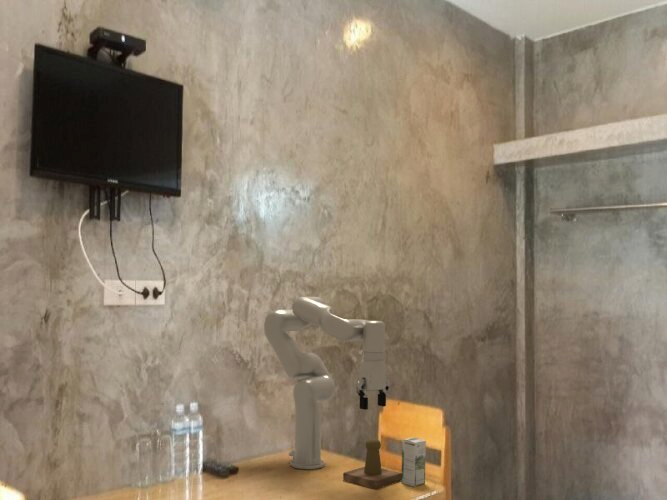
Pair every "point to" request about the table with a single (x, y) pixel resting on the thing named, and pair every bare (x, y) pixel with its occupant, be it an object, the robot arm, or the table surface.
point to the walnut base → (372, 478)
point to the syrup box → (413, 461)
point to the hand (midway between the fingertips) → (372, 407)
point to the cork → (373, 457)
